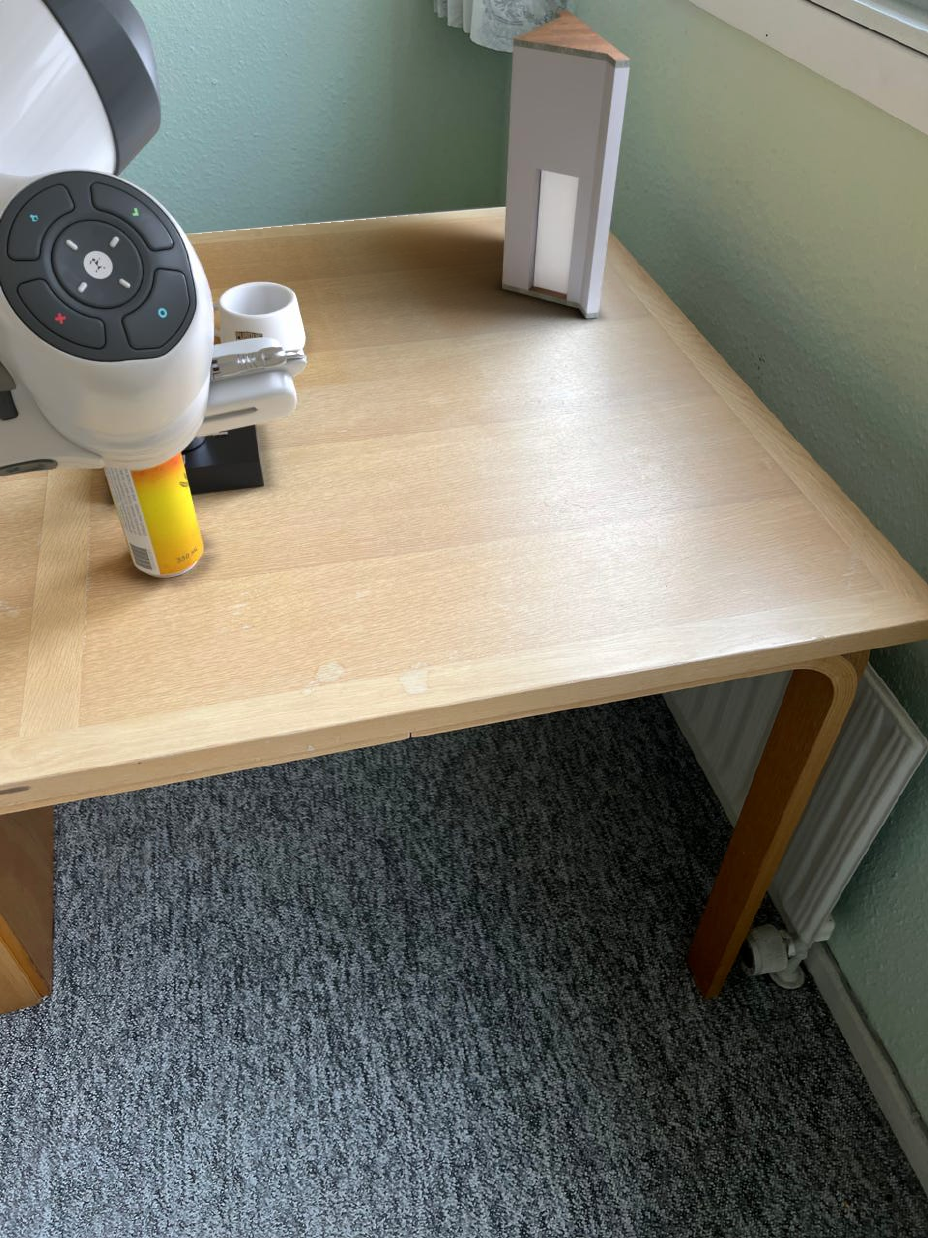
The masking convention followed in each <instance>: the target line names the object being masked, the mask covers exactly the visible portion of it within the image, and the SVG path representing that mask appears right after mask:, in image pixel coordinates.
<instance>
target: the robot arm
mask: <svg viewBox="0 0 928 1238" xmlns="http://www.w3.org/2000/svg"><path fill="white" fill-rule="evenodd" d="M159 81H160V80H159V74H158V68H157V62H156V58H155V53H154V48H153V45H152V42H151V38H150V35H149V32H148V29H147V26H146V24H145V21H144V20H143V18H142V16H141V15H140V13H139V11H138V9H137V8H136V6H135V5H134V3H132V1H131V0H0V479H1V478H5V477H6V478H7V477H10V476H15V475H19V474H25V473H32V472H40V471H43V472H44V471H52V470H55V469H84V470H85V469H88V470H95V469H96V470H97V469H98V470H99V469H103V467H109V468H115V469H125V470H132V469H143V468H148V467H152V466H155V465H158V464H161V463H163V462H165V461H168V460H169V459H171V458H173V457H174V456H176V455H177V454H179V453H180V452H181V451H182V450H184V449H185V448H186V447H187V446H188V445H189V444H190V442H191V441H192V440H193V439H194V437H198V438H199V437H205V436H210V435H215V434H219V432H221V431H226V430H231V429H236V428H240V427H245V426H250V425H255V424H256V425H259V424H263V423H268V422H274V421H278V420H281V419H284V418H286V417H288V416H290V415H293V413H295V411H296V408H297V405H298V395H297V392H296V389H295V385H294V381H293V378H294V377H297V376H298V375H301V374H302V373H303V372H304V371H305V369H306V366H307V360H308V357H307V356H308V355H307V354H306V353H305V352H304V349H294V350H289V351H284V349H283V346H282V344H281V343H280V342H279V341H278V340H276V339H274V338H269V337H260V338H250V339H244V340H238V341H233V342H227V343H222V344H221V343H217V344H214V343H215V336H214V328H215V312H214V310H213V303H214V302H213V297H212V292H211V287H210V285H209V282H208V278H207V276H206V273H205V270H204V268H203V265H202V263H201V260H200V259H199V256H198V255H197V252H196V250H195V248H194V246H193V245H192V243H191V241H190V240H189V238H188V237H187V235H186V233H185V232H184V229H183V228H182V227H181V226H180V224H179V223H178V222H177V220H176V219H175V218H174V217H173V215H172V214H171V213H170V212H169V211H168V210H167V209H166V207H165V206H164V205H163V204H162V203H161V202H159V200H157V199H156V198H155V197H154V196H153V195H151V194H150V193H149V192H147V190H144V189H143V188H142V187H140V186H138V185H136V184H135V183H133V182H131V181H129V180H127V179H124V178H122V177H120V175H121V174H122V172H123V171H124V170H125V169H126V168H127V167H128V166H129V164H131V163H132V161H133V160H134V159H136V158H137V156H138V155H139V153H140V152H141V151H142V150H143V149H144V148H145V147H146V146H147V144H148V143H149V142H150V141H152V139H153V138H154V137H155V136H156V134H157V133H158V132H159V130H160V128H161V123H162V106H161V105H162V103H161V90H160V83H159Z"/></svg>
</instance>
